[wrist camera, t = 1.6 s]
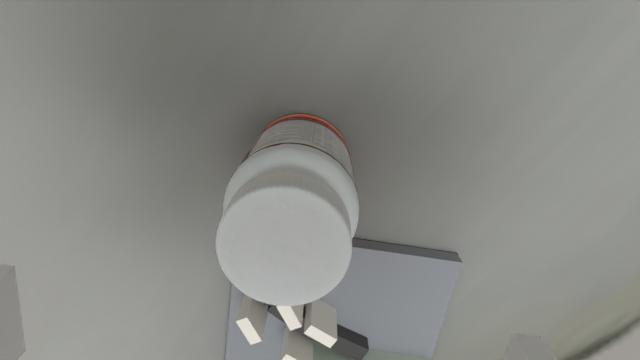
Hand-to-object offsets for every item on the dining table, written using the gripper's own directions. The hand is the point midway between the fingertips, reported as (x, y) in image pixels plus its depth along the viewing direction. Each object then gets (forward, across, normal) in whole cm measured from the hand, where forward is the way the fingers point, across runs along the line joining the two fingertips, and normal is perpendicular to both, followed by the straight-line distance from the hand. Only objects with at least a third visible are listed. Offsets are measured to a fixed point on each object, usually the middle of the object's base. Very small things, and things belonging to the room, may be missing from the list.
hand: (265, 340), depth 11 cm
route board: (+16, +4, -14) cm, 21 cm away
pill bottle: (+16, 0, 0) cm, 16 cm away
